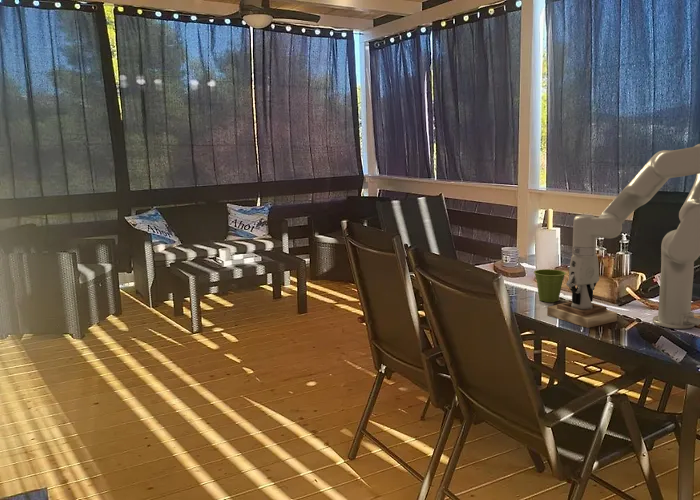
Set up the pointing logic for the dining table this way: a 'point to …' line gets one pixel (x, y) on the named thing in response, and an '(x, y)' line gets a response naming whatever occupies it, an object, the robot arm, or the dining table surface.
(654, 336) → the dining table surface
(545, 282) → the plant pot
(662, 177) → the robot arm
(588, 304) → the flask
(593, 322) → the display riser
